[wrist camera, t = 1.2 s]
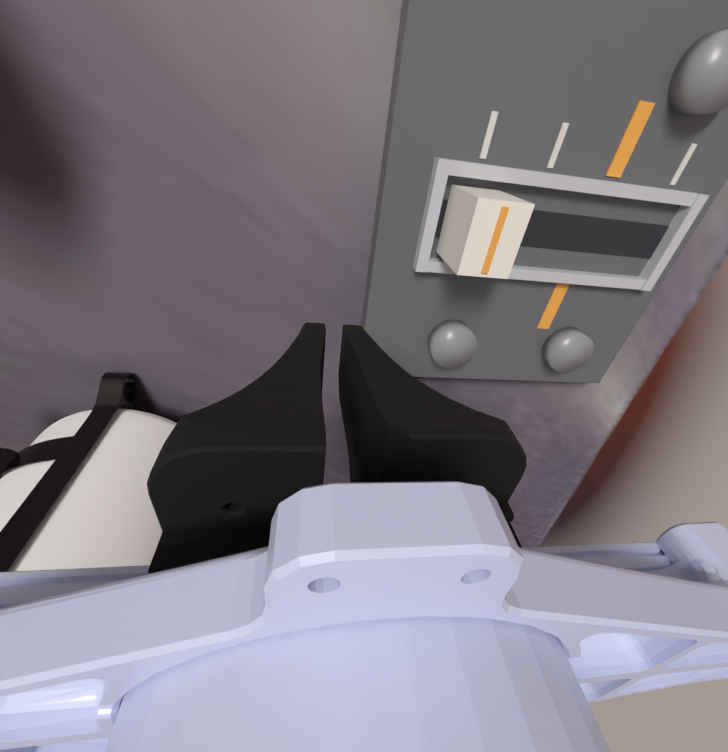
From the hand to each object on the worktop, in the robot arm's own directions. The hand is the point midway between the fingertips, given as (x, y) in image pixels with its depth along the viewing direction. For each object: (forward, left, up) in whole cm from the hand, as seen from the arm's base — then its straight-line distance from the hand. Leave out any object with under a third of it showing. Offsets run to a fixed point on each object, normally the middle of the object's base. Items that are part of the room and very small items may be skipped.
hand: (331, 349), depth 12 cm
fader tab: (+3, -7, -8) cm, 11 cm away
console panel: (+3, -12, -10) cm, 15 cm away
